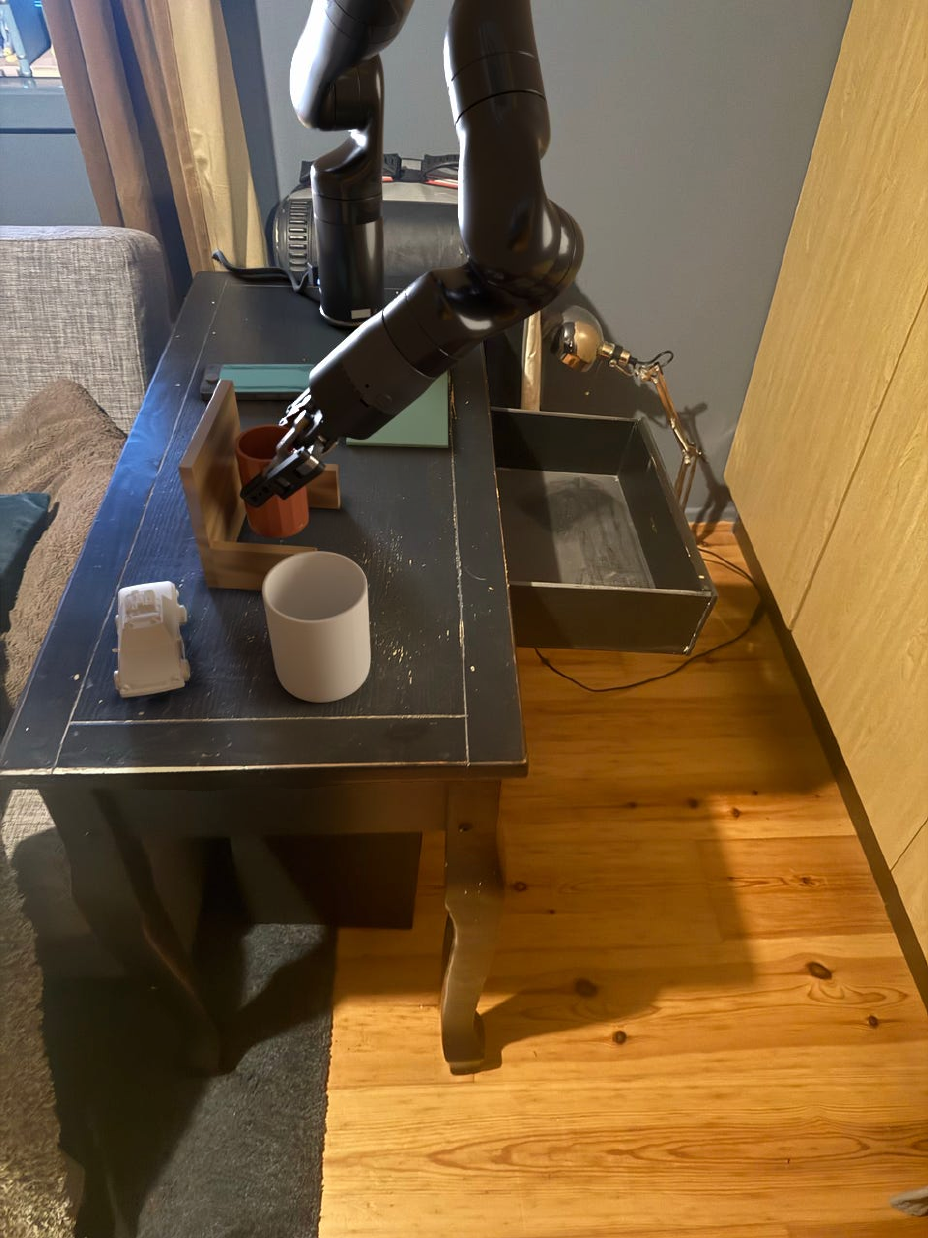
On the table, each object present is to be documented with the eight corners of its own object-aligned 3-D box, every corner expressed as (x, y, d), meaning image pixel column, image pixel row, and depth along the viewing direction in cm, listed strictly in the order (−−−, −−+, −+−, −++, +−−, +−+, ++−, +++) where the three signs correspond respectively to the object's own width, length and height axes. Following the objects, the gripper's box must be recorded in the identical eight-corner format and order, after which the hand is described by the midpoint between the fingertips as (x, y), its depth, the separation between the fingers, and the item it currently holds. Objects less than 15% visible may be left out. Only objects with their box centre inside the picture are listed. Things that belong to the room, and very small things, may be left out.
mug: (260, 618, 76) (244, 533, 69) (346, 600, 79) (340, 515, 71) (287, 716, 69) (273, 632, 61) (382, 692, 71) (379, 609, 63)
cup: (240, 508, 83) (226, 432, 76) (297, 494, 85) (288, 418, 78) (259, 544, 79) (246, 467, 72) (318, 528, 81) (310, 452, 75)
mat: (357, 367, 109) (357, 364, 109) (447, 371, 110) (447, 368, 109) (346, 444, 97) (346, 441, 96) (447, 448, 97) (448, 445, 97)
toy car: (120, 714, 68) (98, 660, 63) (120, 613, 76) (101, 559, 71) (194, 700, 69) (178, 647, 64) (187, 603, 77) (172, 549, 72)
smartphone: (206, 362, 106) (323, 362, 107) (208, 371, 107) (324, 371, 108) (198, 392, 101) (321, 392, 102) (200, 401, 101) (322, 400, 103)
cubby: (340, 502, 89) (332, 386, 79) (319, 594, 79) (306, 475, 69) (241, 495, 89) (220, 379, 79) (207, 587, 79) (178, 466, 69)
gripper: (354, 304, 73) (240, 411, 81) (329, 389, 63) (203, 501, 71) (413, 362, 77) (299, 459, 85) (398, 451, 67) (271, 550, 75)
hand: (255, 478), depth 78 cm, fingers closed on cup, 6 cm apart
